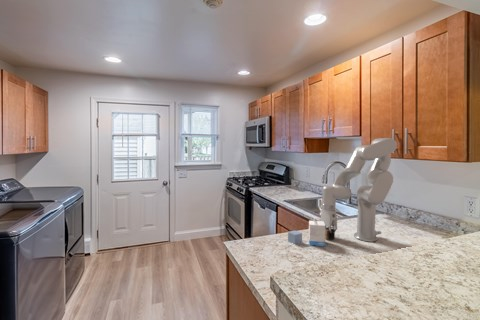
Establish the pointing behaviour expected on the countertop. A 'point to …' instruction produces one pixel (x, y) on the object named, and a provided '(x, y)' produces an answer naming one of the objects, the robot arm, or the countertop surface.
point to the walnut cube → (328, 233)
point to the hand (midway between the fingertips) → (327, 236)
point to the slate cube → (294, 237)
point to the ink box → (317, 233)
